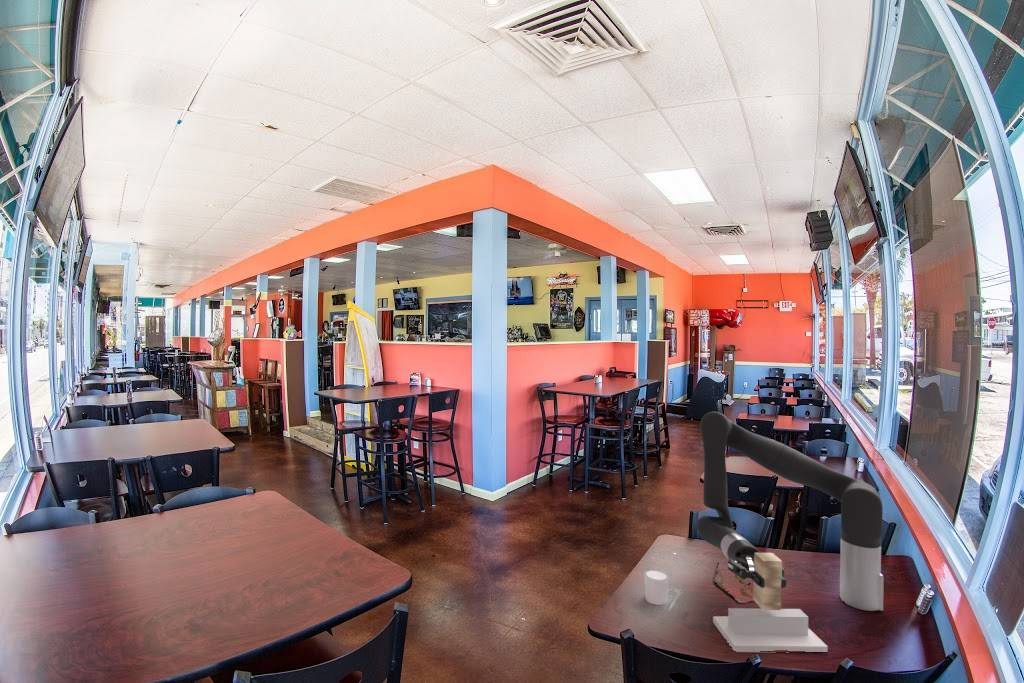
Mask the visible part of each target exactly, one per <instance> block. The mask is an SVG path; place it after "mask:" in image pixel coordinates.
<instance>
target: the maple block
mask: <svg viewBox="0 0 1024 683" xmlns="http://www.w3.org/2000/svg"><path fill="white" fill-rule="evenodd" d="M782 566H783V560H781V558H779V557H778V556H777V555H776V554H774V553H773V552H760V553H754V569H755V572H757V573H758V574H759V575H760V576H761V577H762V578H764V580H765V585H764V588H761V587H760V586H759V585H757V584H756V583H755V582H754V581H753V590H752V593H753V600H754V602H755V603H756V605H757V606H758V607H759V609H762V610H781V609H782V589H783V588H781V581H782Z"/></svg>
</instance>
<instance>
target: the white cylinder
mask: <svg viewBox="0 0 1024 683" xmlns="http://www.w3.org/2000/svg"><path fill="white" fill-rule="evenodd" d="M643 579H644V592H645V594H644V595H645V600H646V601H647V602H648V603H649V604H652V605H656V606H657V605H658V606H661V605H665V604H666V603H667V598H668V592H669V590H668V589H669V580H670V576H669V575H668V574H667V573H666V572H664V571H662V570H659V569H647V570H645V571H644V572H643Z"/></svg>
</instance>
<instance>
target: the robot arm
mask: <svg viewBox="0 0 1024 683" xmlns="http://www.w3.org/2000/svg"><path fill="white" fill-rule="evenodd" d="M699 428H700V432H701V436H702V442H703V452H704V454H703V456H704V457H703V458H704V463H703V464H704V466H703V468H704V469H703V498H702V500H703V505H704V506H705V507H707V508H709V509H713V510H715V511H716V513H717V515H718V516H711V515H703V516H701V517H699V518H698V520H697V522H696V530H697V533H698V535H699V536H700V537H701V539H703V540H704V541H705V542H706V543H708V544H710V545H712V546H714V547H716V548H718V549H719V550H720V551H721V552H722V553H723V555H724V556H725V557H726V558H727V566H728V570H730V571H731V572H733V573H734V574H736V575H737V576H739V577H740V578H742V579H746V578H747V579H749V580H750V581H753V583H754V582H755V583H756V584H757V585H759V586H760V587H761V588H764V585H765V580H764V578H762V577H761V576H760V575H759V574H758V573H757V572H755V569H754V553H761V552H760V551H759V550H758V548H757V547H755V546H754V544H752V543H751V542H749V540H748V539H747V538H745V537H743V535H740V533H738V532H737V531H735V528H734V523H733V520H732V516H731V513H730V512H731V511H730V508H729V504H728V498H729V497H728V475H727V473H728V472H727V465H726V464H727V463H726V452H727V450H726V449H727V447H728V448H731V449H733V450H735V451H737V452H739V453H741V454H742V455H744V456H746V457H747V458H749V459H751V460H752V461H753V462H755V463H756V464H757V465H759V466H761V467H763V468H764V469H767V470H768V471H770V472H771V473H774V474H775V475H777V476H779V477H781V478H783V479H785V480H788V481H790V482H793V483H796V484H798V485H803V486H806V487H810V488H813V489H816V490H818V491H821V492H822V493H825V494H826V495H828V496H830V497H832V498H834V499H835V500H836V501H838V502H840V503H841V504H840V507H841V508H840V562H839V567H840V568H839V570H840V571H839V574H840V575H839V598H841V599H840V600H841V601H842V602H843V601H844V602H845V603H844V602H843V603H844V604H846V605H848V606H851V607H853V608H854V609H857V610H858V609H859V610H862V611H867V612H868V611H869V612H875V611H884V574H882V572H881V568H882V566H881V565H882V562H881V561H882V538H883V502H882V499H881V496H880V493H879V492H878V491H877V489H876V488H875V487H874V486H872V485H871V484H869V483H867V482H864V481H862V480H859V479H857V478H854V477H852V476H849V475H846V474H844V473H843V472H842V473H841V472H838V471H836V470H834V469H831V468H830V467H828V466H827V465H825V464H822V463H820V462H819V461H817V460H816V459H814V458H812V457H809V456H808V455H806V454H804V453H802V452H800V451H798V450H796V449H794V448H793V447H790V446H789V445H786V444H784V443H782V442H779V441H778V440H774V439H771V438H770V437H766V436H762V435H760V434H757V433H754V432H752V431H749V430H747V429H745V428H744V427H742V426H740V425H738V424H737V423H735V422H733V421H732V420H730V419H729V418H728V417H727V416H726V415H725V414H723V413H722V412H719V411H710V412H707V413H705V414H704V415H703V416H702V418H701V419H700V423H699ZM786 586H787V579H786V578H785V568H784V566H783V565H782V581H781V588H782V589H786Z"/></svg>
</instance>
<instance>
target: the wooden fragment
mask: <svg viewBox="0 0 1024 683" xmlns="http://www.w3.org/2000/svg"><path fill="white" fill-rule="evenodd" d="M728 574H730V573H728ZM733 575H734V574H733ZM724 576H725V575H724ZM722 577H723V576H722V575H721V572H720V570H719V569H717V568H716V570H715V574H714V579H713V583H718V584H716V585H717V586H718V587H719V588H720V589H721V590H723V591H724V592H725V593H727V592H729V591H727V592H726V590H724V589H725V588H726V587H725V588H723V587H724V586H723V585H722V584H724V583H722V582H723V579H724V578H722ZM732 577H734V576H732ZM735 578H736V579H738V580H739V583H741V584H746V583H745V581H743V580H744V579H742V578H741V579H740V577H739V576H737V575H736V574H735ZM736 579H735V581H736ZM733 582H734V581H733ZM746 585H748V584H746ZM746 585H744V586H743V588H746V587H745V586H746ZM748 586H749V585H748ZM750 588H751V587H748V588H746V589H745V590H747V589H750ZM739 589H741V590H739V591H740V592H741V594H742V595H743V596H745V597H746V596H747V595H748V596H747V597H746V598H748V597H750V598H753V597H752V596H751V595H750V594H748V593H747V592H746V591H744V589H742V588H739ZM727 594H728V595H729V594H730V593H727ZM741 599H742V598H741ZM741 599H737V598H735V599H734V600H735V601H737V602H738V603H740V602H746V601H744V600H743V601H740V600H741Z"/></svg>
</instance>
